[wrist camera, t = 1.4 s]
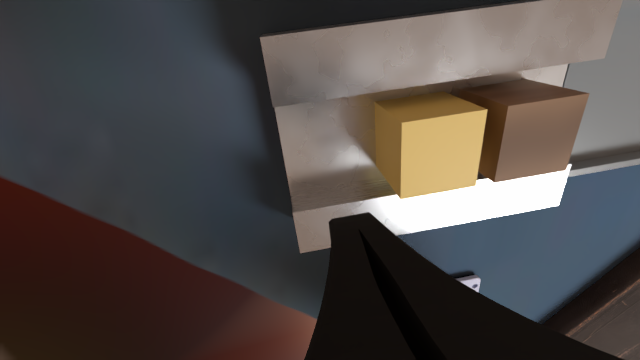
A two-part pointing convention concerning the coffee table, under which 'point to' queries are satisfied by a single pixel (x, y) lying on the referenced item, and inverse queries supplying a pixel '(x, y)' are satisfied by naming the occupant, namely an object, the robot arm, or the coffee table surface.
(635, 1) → the tray
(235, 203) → the coffee table surface
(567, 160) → the walnut cube
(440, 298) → the robot arm
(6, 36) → the coffee table surface
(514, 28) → the channel
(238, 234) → the coffee table surface
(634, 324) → the hardcover book
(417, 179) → the mustard cube
